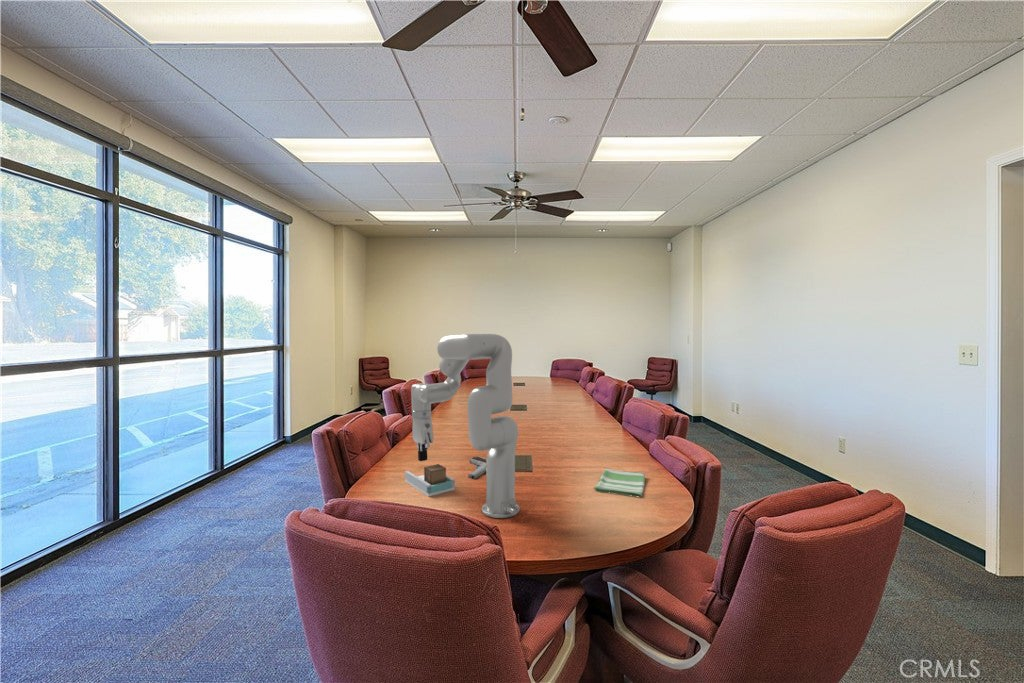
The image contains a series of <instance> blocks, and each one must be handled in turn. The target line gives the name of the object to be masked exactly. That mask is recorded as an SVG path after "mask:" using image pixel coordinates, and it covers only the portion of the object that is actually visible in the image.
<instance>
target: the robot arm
mask: <svg viewBox="0 0 1024 683" xmlns="http://www.w3.org/2000/svg"><path fill="white" fill-rule="evenodd" d="M436 348H437V349H436V350H437V354H438V356H439V357H440V358H441V360H440V361H439V365H438V366H439V367H438V368H439V370H440V372H441V373H442V374H443V375H444V376H446V377H447V378H446V379H445V381H444V382H438V383H428V382H427V383H425V382H420V383H413V384H412V385H411V387H410V392H411V393H410V394H411V419H412V432H411V433H412V435H411V436H412V440H413V442H414V443H415V444H416V448H417V461H419V462H424V461H427V460H428V448H430V447H431V444H433V443H434V430H433V429H434V428H433V421H432V404H436V403H437V404H438V403H443V402H447V401H450V400H451V399H452V398H453V397H454V396H455V395H456V393H457V392H458V391H459V389H460V387H461V379H462V377H461V372H462V371H463V370H464V368H465V367H466V366H467V364H468V363H469V361H471V360H484V359H489V360H490V361H489V363H488V365H487V367H486V371H485V377H486V378H485V379H486V381H485V384H486V385H483V386H478V387H475V388H474V389H472V391H471V392H470V393H469V395H468V399H467V422H468V425H467V426H468V437H469V441H470V444H471V446H472V447H473V448H474V450H477V451H479V452H484V451H487V455H486V459H487V465H486V472H485V473H486V475H485V476H486V477H485V478H486V480H485V481H486V488H485V490H486V491H485V492H486V494H485V496H486V499H485V500H486V502H485V503H484V504H482V507H481V512H482V514H483V515H485V516H487V517H488V518H489V517H491V518H495V519H506V518H512V517H513V516H516V515H517V514H518V513H519V512H520V509H521V507H520V506H519V505H518V503H517V499H515V498H516V497H515V496H516V495H515V494H516V493H515V489H516V488H515V486H516V477H515V476H516V447H517V442H518V437H519V428H518V427H519V426H518V424H517V422H516V421H515V420H514V418H512V417H510V416H507V415H506V416H505V415H502V416H500V415H499V416H495V417H492V415H495V414H496V415H497V414H501V413H505V412H507V411H509V410H510V409H511V408H512V405H513V381H512V380H513V379H512V362H513V350H512V346H511V344H510V342H509V341H508V339H506V337H504V336H502V335H500V334H496V333H466V334H451V335H444V336H443V337H442V338H441V339H439V340H438V343H437V347H436Z"/></svg>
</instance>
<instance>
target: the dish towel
mask: <svg viewBox="0 0 1024 683" xmlns="http://www.w3.org/2000/svg"><path fill="white" fill-rule="evenodd" d="M645 477H646V473H645V472H638V471H625V470H616V469H615V470H614V469H608V468H605V469H604V471H603V472H602V473H601V475H600V479H599V481H598V483H596V485H594V486H593V489H594V490H595V492H598V493H605V492H606V493H608V492H610V493H608V494H613V493H617V494H616V495H620V494H624V495H623V496H628V495H632V496H634V497H636V496H639V497H641V498H642V496H643V493H644V489H645V488H644V487H645V484H646V478H645ZM639 497H638V498H639Z"/></svg>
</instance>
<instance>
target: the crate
mask: <svg viewBox="0 0 1024 683" xmlns="http://www.w3.org/2000/svg"><path fill="white" fill-rule="evenodd" d="M423 470H424V471H423V475H424V481H426V482H427V483H429V484H431V485H435V484H439V483H443V482H446V475H447V468H446V467H445V466H443V465H441V464H439V463H438V464H437V463H436V464H431V465H427V466H424V467H423Z"/></svg>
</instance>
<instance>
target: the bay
mask: <svg viewBox="0 0 1024 683" xmlns="http://www.w3.org/2000/svg"><path fill="white" fill-rule="evenodd" d="M404 481H405V483H407V484H409V485H410V486H411V487H413V488H414V489H416V490H418V491H419V492H421V493H422V494H424V495H425V496H427V497H432V496H436V495H440V494H445V493H448V492H451V491H455V490H456V489H455V481H456V480H455V478H453V477H451V476H449V475H447V474H446V482H443V483H439V484H435V485H431V484H429V483H427V482H426V481H424V474H421V475H418V476H417V475H415V474H414V473H412V472H411V471H409V470H405V471H404Z"/></svg>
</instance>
